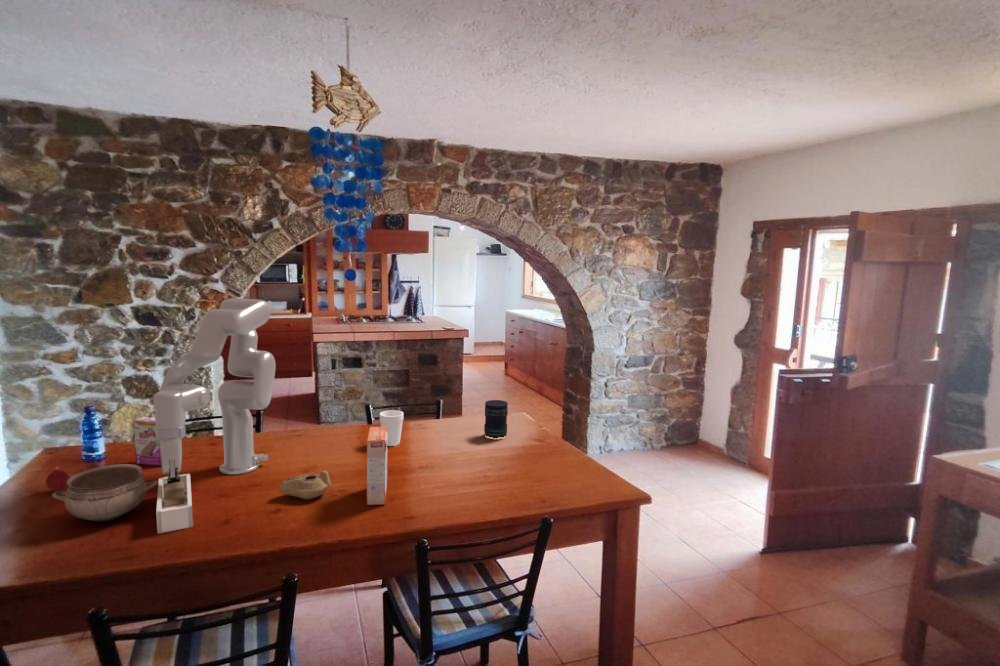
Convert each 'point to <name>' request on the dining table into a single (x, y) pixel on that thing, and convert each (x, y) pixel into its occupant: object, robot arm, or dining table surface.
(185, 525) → the box
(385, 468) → the cracker box
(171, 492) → the walnut block
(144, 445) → the candy bar box
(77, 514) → the cooking pot
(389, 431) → the foam cup
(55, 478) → the onion
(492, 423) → the storage jar
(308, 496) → the oil lamp
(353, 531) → the dining table surface
